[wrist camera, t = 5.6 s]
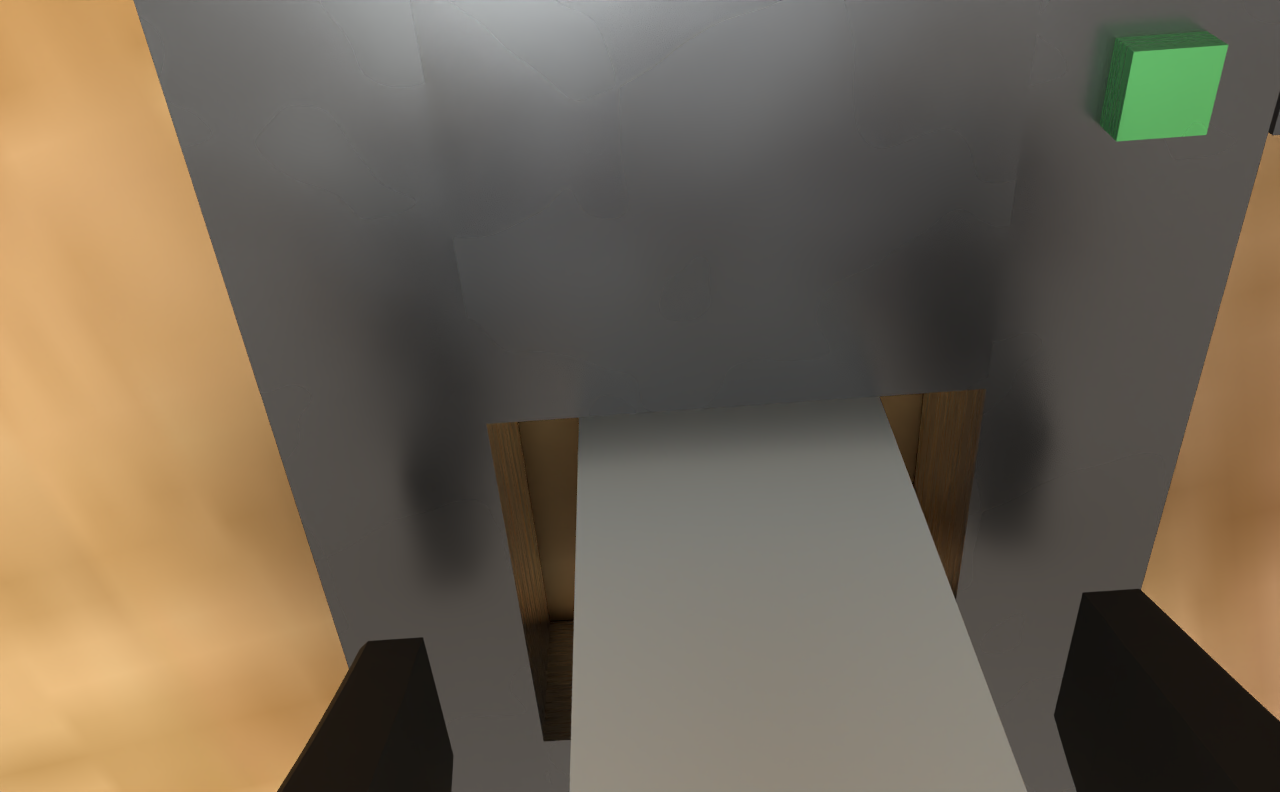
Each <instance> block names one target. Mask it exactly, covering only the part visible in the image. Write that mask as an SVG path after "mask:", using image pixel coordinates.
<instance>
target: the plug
mask: <svg viewBox="0 0 1280 792" xmlns="http://www.w3.org/2000/svg"><path fill="white" fill-rule="evenodd" d="M570 792H1027V790H1026V787H1025V785H1024V782H1023V779H1022V777H1021V774H1020V771H1019V769H1018V766H1017V763H1016V761H1015V758H1014V755H1013V753H1012V750H1011V747H1010V745H1009V742H1008V739H1007V736H1006V734H1005V731H1004V728H1003V726H1002V723H1001V720H1000V718H999V715H998V712H997V710H996V707H995V704H994V702H993V699H992V696H991V694H990V691H989V688H988V686H987V683H986V680H985V678H984V675H983V672H982V670H981V667H980V664H979V662H978V659H977V656H976V654H975V651H974V648H973V646H972V643H971V640H970V637H969V635H968V632H967V629H966V627H965V624H964V621H963V619H962V616H961V613H960V611H959V608H958V605H957V603H956V600H955V597H954V595H953V592H952V589H951V587H950V584H949V581H948V579H947V576H946V573H945V571H944V568H943V565H942V563H941V560H940V557H939V555H938V552H937V549H936V547H935V544H934V541H933V538H932V536H931V533H930V530H929V528H928V525H927V522H926V520H925V517H924V514H923V512H922V509H921V506H920V504H919V501H918V498H917V496H916V493H915V490H914V488H913V485H912V482H911V480H910V477H909V474H908V472H907V469H906V466H905V464H904V461H903V458H902V456H901V453H900V450H899V448H898V445H897V442H896V439H895V437H894V434H893V431H892V429H891V426H890V423H889V421H888V418H887V415H886V413H885V410H884V407H883V405H882V402H881V399H880V397H879V396H878V397H864V398H850V399H835V400H821V401H807V402H793V403H778V404H764V405H750V406H736V407H721V408H707V409H693V410H679V411H664V412H650V413H636V414H621V415H607V416H593V417H579V438H578V478H577V517H576V557H575V596H574V635H573V675H572V714H571V754H570Z"/></svg>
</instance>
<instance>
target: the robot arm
mask: <svg viewBox="0 0 1280 792" xmlns="http://www.w3.org/2000/svg"><path fill="white" fill-rule="evenodd" d="M1054 718H1055V722H1056V725H1057V729H1058V732H1059V736H1060V739H1061V742H1062V746H1063V749H1064V753H1065V756H1066V760H1067V763H1068V766H1069V769H1070V772H1071V776H1072V779H1073V782H1074V785H1075V788H1076V791H1077V792H1280V721H1279V720H1278V719H1277V718H1276V717H1274V716H1273V715H1272V714H1271V713H1270V712H1269V711H1268V710H1267V709H1266V708H1265V707H1263V706H1262V705H1261V704H1260V703H1259V702H1258V701H1257V700H1256V699H1255V698H1254V697H1253V696H1252V695H1251V694H1249V693H1248V692H1247V691H1246V690H1245V689H1244V688H1243V687H1242V686H1241V685H1240V684H1239V683H1238V682H1237V681H1236V680H1235V679H1234V678H1232V677H1231V676H1230V675H1229V674H1228V673H1227V672H1226V671H1225V670H1224V669H1223V668H1222V667H1221V666H1220V665H1219V664H1218V663H1217V662H1216V661H1215V660H1213V659H1212V658H1211V657H1210V656H1209V655H1208V654H1207V653H1206V652H1205V651H1204V650H1203V649H1202V648H1201V647H1200V646H1199V645H1198V644H1197V643H1196V642H1195V641H1194V640H1193V639H1192V638H1191V637H1190V636H1188V635H1187V634H1186V633H1185V632H1184V631H1183V630H1182V629H1181V628H1180V627H1179V626H1178V625H1177V624H1176V623H1175V622H1174V621H1173V620H1172V619H1171V618H1170V617H1169V616H1168V615H1167V614H1166V613H1164V612H1163V611H1162V610H1161V609H1160V608H1159V607H1158V606H1157V605H1156V604H1155V603H1154V602H1153V601H1152V600H1151V599H1150V598H1149V597H1147V596H1146V595H1145V594H1144V593H1143V592H1142V591H1141V590H1140V589H1127V590H1112V591H1097V592H1083V593H1082V598H1081V602H1080V606H1079V610H1078V614H1077V619H1076V623H1075V627H1074V631H1073V636H1072V640H1071V644H1070V648H1069V653H1068V657H1067V661H1066V665H1065V670H1064V674H1063V678H1062V682H1061V686H1060V691H1059V695H1058V699H1057V703H1056V708H1055V712H1054ZM453 757H454V755H453V751H452V747H451V743H450V740H449V736H448V732H447V728H446V724H445V720H444V716H443V712H442V709H441V705H440V701H439V697H438V693H437V689H436V685H435V682H434V678H433V674H432V670H431V666H430V662H429V658H428V654H427V651H426V647H425V643H424V639H423V637H419V638H404V639H389V640H374V641H367V642H366V643H365V644H364V645H363V646H362V647H361V648H360V650H359V651H358V653H357V655H356V657H355V659H354V661H353V663H352V665H351V667H350V668H349V670H348V672H347V674H346V676H345V678H344V680H343V681H342V683H341V685H340V687H339V689H338V690H337V692H336V694H335V696H334V698H333V699H332V701H331V703H330V705H329V707H328V708H327V710H326V712H325V714H324V715H323V717H322V719H321V721H320V722H319V724H318V726H317V727H316V729H315V731H314V732H313V734H312V736H311V737H310V739H309V741H308V743H307V744H306V746H305V748H304V749H303V751H302V753H301V754H300V756H299V758H298V759H297V761H296V762H295V764H294V766H293V767H292V769H291V770H290V772H289V773H288V775H287V777H286V778H285V780H284V781H283V783H282V785H281V786H280V788H279V789H278V791H277V792H451V791H452V774H453Z"/></svg>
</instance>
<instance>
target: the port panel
mask: <svg viewBox="0 0 1280 792" xmlns="http://www.w3.org/2000/svg"><path fill="white" fill-rule="evenodd" d="M134 3H135V6H136V9H137V13H138V16H139V19H140V22H141V25H142V28H143V31H144V34H145V37H146V40H147V44H148V47H149V50H150V53H151V56H152V59H153V62H154V65H155V68H156V71H157V75H158V78H159V81H160V84H161V87H162V90H163V93H164V96H165V99H166V102H167V106H168V109H169V112H170V115H171V118H172V121H173V124H174V127H175V130H176V133H177V137H178V140H179V143H180V146H181V149H182V152H183V155H184V158H185V161H186V164H187V168H188V171H189V174H190V177H191V180H192V183H193V186H194V189H195V192H196V195H197V199H198V202H199V205H200V208H201V211H202V214H203V217H204V220H205V223H206V226H207V230H208V233H209V236H210V239H211V242H212V245H213V248H214V251H215V254H216V257H217V261H218V264H219V267H220V270H221V273H222V276H223V279H224V282H225V285H226V288H227V292H228V295H229V298H230V301H231V304H232V307H233V310H234V313H235V316H236V320H237V323H238V326H239V329H240V332H241V335H242V338H243V341H244V344H245V347H246V351H247V354H248V357H249V360H250V363H251V366H252V369H253V372H254V375H255V378H256V382H257V385H258V388H259V391H260V394H261V397H262V400H263V403H264V406H265V409H266V413H267V416H268V419H269V422H270V425H271V428H272V431H273V434H274V437H275V440H276V444H277V447H278V450H279V453H280V456H281V459H282V462H283V465H284V468H285V471H286V475H287V478H288V481H289V484H290V487H291V490H292V493H293V496H294V499H295V502H296V506H297V509H298V512H299V515H300V518H301V521H302V524H303V527H304V530H305V533H306V537H307V540H308V543H309V546H310V549H311V552H312V555H313V558H314V561H315V564H316V568H317V571H318V574H319V577H320V580H321V583H322V586H323V589H324V592H325V595H326V599H327V602H328V605H329V608H330V611H331V614H332V617H333V620H334V623H335V626H336V630H337V633H338V636H339V639H340V642H341V645H342V648H343V651H344V654H345V657H346V661H347V664H348V667H349V668H350V667H351V665H352V663H353V661H354V659H355V657H356V655H357V653H358V651H359V650H360V648H361V647H362V646H363V645H364V644H365V643H366V642H367V641H374V640H389V639H404V638H419V637H423V639H424V643H425V647H426V651H427V654H428V658H429V662H430V666H431V670H432V674H433V678H434V682H435V685H436V689H437V693H438V697H439V701H440V705H441V709H442V712H443V716H444V720H445V724H446V728H447V732H448V736H449V740H450V743H451V747H452V751H453V755H454V757H453V774H452V791H451V792H570V754H571V714H572V675H573V635H574V621H559V622H550V620H549V614H548V608H547V601H546V595H545V589H544V583H543V576H542V570H541V564H540V558H539V551H538V545H537V539H536V533H535V526H534V520H533V514H532V508H531V501H530V495H529V489H528V483H527V476H526V470H525V464H524V458H523V451H522V445H521V439H520V433H519V426H518V422H522V421H536V420H550V419H564V418H579V417H593V416H607V415H621V414H636V413H650V412H664V411H679V410H693V409H707V408H721V407H736V406H750V405H764V404H778V403H793V402H807V401H821V400H835V399H850V398H864V397H878V396H892V395H907V394H921V393H924V395H923V405H922V415H921V424H920V434H919V444H918V453H917V463H916V472H915V482H914V490H915V493H916V496H917V498H918V501H919V504H920V506H921V509H922V512H923V514H924V517H925V520H926V522H927V525H928V528H929V530H930V533H931V536H932V538H933V541H934V544H935V547H936V549H937V552H938V555H939V557H940V560H941V563H942V565H943V568H944V571H945V573H946V576H947V579H948V581H949V584H950V587H951V589H952V592H953V595H954V597H955V600H956V603H957V605H958V608H959V611H960V613H961V616H962V619H963V621H964V624H965V627H966V629H967V632H968V635H969V637H970V640H971V643H972V646H973V648H974V651H975V654H976V656H977V659H978V662H979V664H980V667H981V670H982V672H983V675H984V678H985V680H986V683H987V686H988V688H989V691H990V694H991V696H992V699H993V702H994V704H995V707H996V710H997V712H998V715H999V718H1000V720H1001V723H1002V726H1003V728H1004V731H1005V734H1006V736H1007V739H1008V742H1009V745H1010V747H1011V750H1012V753H1013V755H1014V758H1015V761H1016V763H1017V766H1018V769H1019V771H1020V774H1021V777H1022V779H1023V782H1024V785H1025V787H1026V790H1027V792H1077V791H1076V788H1075V785H1074V782H1073V779H1072V776H1071V772H1070V769H1069V766H1068V763H1067V760H1066V756H1065V753H1064V749H1063V746H1062V742H1061V739H1060V736H1059V732H1058V729H1057V725H1056V722H1055V718H1054V712H1055V708H1056V703H1057V699H1058V695H1059V691H1060V686H1061V682H1062V678H1063V674H1064V670H1065V665H1066V661H1067V657H1068V653H1069V648H1070V644H1071V640H1072V636H1073V631H1074V627H1075V623H1076V619H1077V614H1078V610H1079V606H1080V602H1081V598H1082V593H1083V592H1097V591H1112V590H1127V589H1140V590H1141V587H1142V584H1143V580H1144V577H1145V573H1146V570H1147V566H1148V562H1149V559H1150V555H1151V552H1152V548H1153V544H1154V541H1155V537H1156V534H1157V530H1158V526H1159V523H1160V519H1161V516H1162V512H1163V508H1164V505H1165V501H1166V498H1167V494H1168V490H1169V487H1170V483H1171V480H1172V476H1173V472H1174V469H1175V465H1176V462H1177V458H1178V455H1179V451H1180V447H1181V444H1182V440H1183V437H1184V433H1185V429H1186V426H1187V422H1188V419H1189V415H1190V411H1191V408H1192V404H1193V401H1194V397H1195V393H1196V390H1197V386H1198V383H1199V379H1200V375H1201V372H1202V368H1203V365H1204V361H1205V358H1206V354H1207V350H1208V347H1209V343H1210V340H1211V336H1212V332H1213V329H1214V325H1215V322H1216V318H1217V314H1218V311H1219V307H1220V304H1221V300H1222V296H1223V293H1224V289H1225V286H1226V282H1227V278H1228V275H1229V271H1230V268H1231V264H1232V261H1233V257H1234V253H1235V250H1236V246H1237V243H1238V239H1239V235H1240V232H1241V228H1242V225H1243V221H1244V217H1245V214H1246V210H1247V207H1248V203H1249V199H1250V196H1251V192H1252V189H1253V185H1254V181H1255V178H1256V174H1257V171H1258V167H1259V164H1260V160H1261V156H1262V153H1263V149H1264V146H1265V142H1266V138H1267V135H1268V131H1269V128H1270V124H1271V120H1272V117H1273V113H1274V110H1275V106H1276V102H1277V99H1278V95H1279V92H1280V0H134Z"/></svg>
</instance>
